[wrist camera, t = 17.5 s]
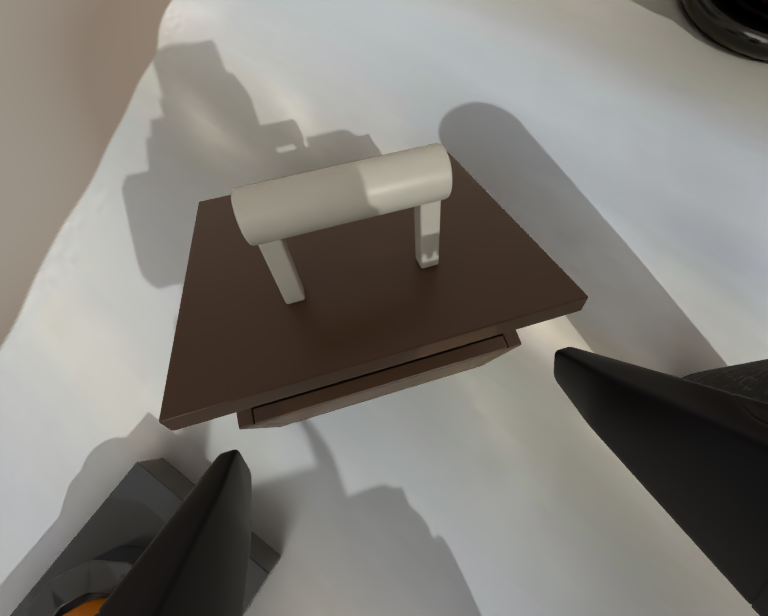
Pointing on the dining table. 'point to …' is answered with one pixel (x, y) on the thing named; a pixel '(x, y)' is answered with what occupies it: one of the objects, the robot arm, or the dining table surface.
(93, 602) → the release button
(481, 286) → the lid
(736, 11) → the amphora vase
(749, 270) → the dining table surface
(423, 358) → the brown lidded box
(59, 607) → the control block
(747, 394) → the travel mug
